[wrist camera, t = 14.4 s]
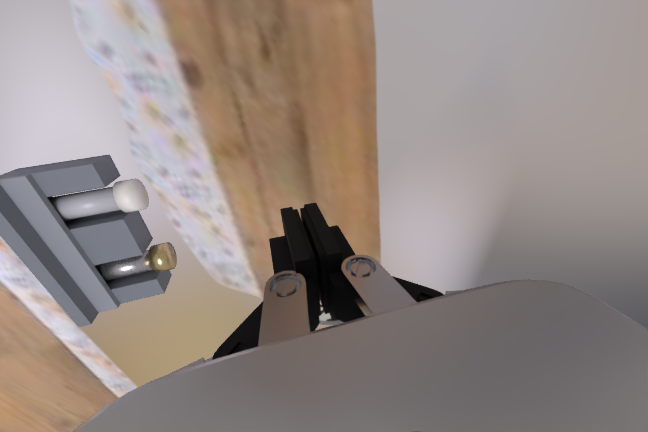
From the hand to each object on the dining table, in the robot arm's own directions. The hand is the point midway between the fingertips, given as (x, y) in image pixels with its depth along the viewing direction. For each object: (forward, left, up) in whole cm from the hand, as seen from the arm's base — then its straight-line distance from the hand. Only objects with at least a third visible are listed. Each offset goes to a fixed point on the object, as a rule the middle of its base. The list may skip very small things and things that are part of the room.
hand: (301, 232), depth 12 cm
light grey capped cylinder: (+5, -23, -27) cm, 36 cm away
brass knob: (+15, -23, -27) cm, 38 cm away
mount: (+10, -25, -28) cm, 38 cm away
